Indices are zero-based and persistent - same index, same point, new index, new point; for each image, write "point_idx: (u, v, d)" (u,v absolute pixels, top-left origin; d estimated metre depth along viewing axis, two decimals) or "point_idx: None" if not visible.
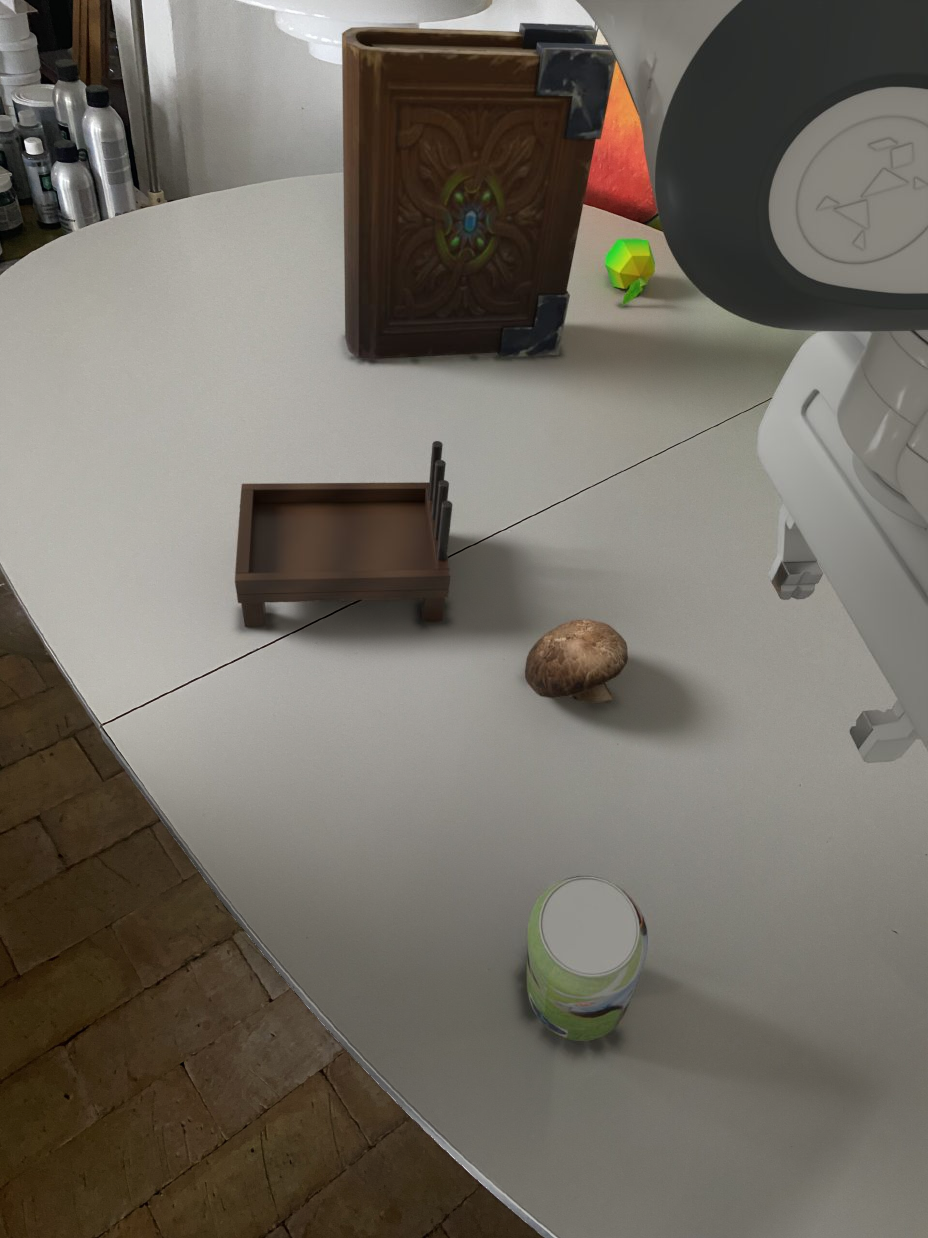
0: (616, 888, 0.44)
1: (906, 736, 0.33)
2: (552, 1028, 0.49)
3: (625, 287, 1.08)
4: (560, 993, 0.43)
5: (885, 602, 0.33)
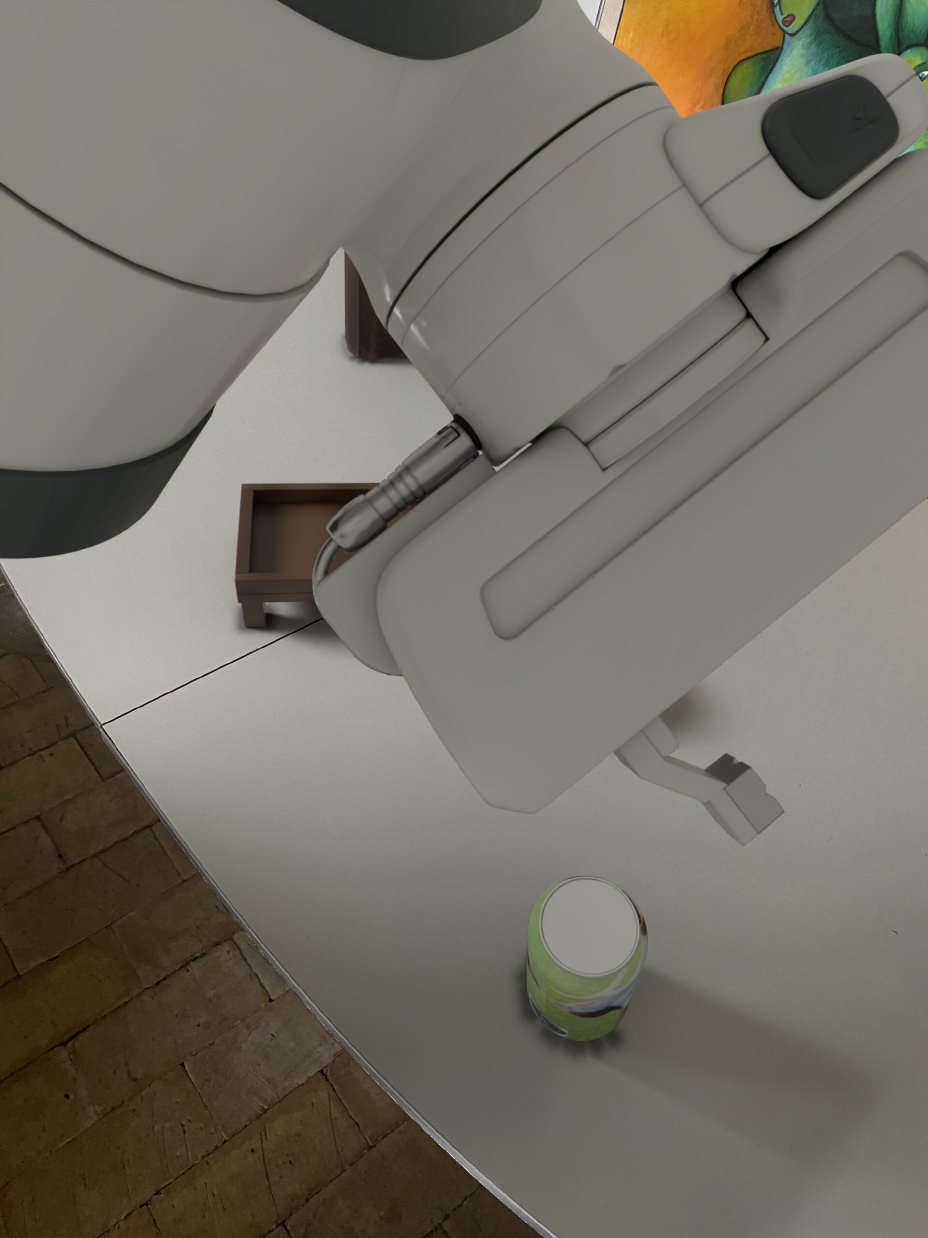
0: (616, 888, 0.44)
1: None
2: (552, 1028, 0.49)
3: None
4: (560, 993, 0.43)
5: (853, 446, 0.22)
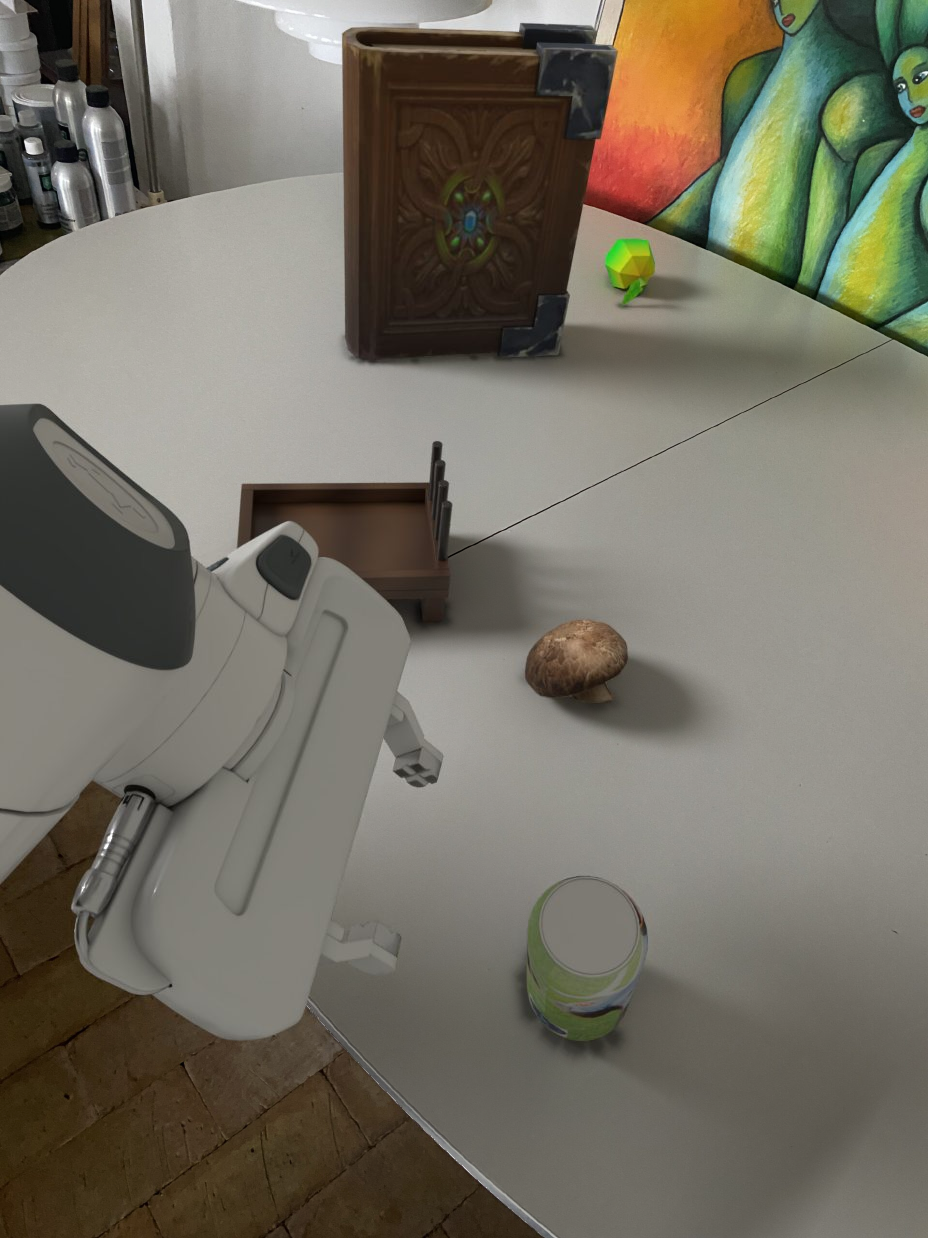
0: (616, 888, 0.44)
1: (408, 702, 0.43)
2: (552, 1028, 0.49)
3: (625, 287, 1.08)
4: (560, 993, 0.43)
5: (348, 717, 0.38)
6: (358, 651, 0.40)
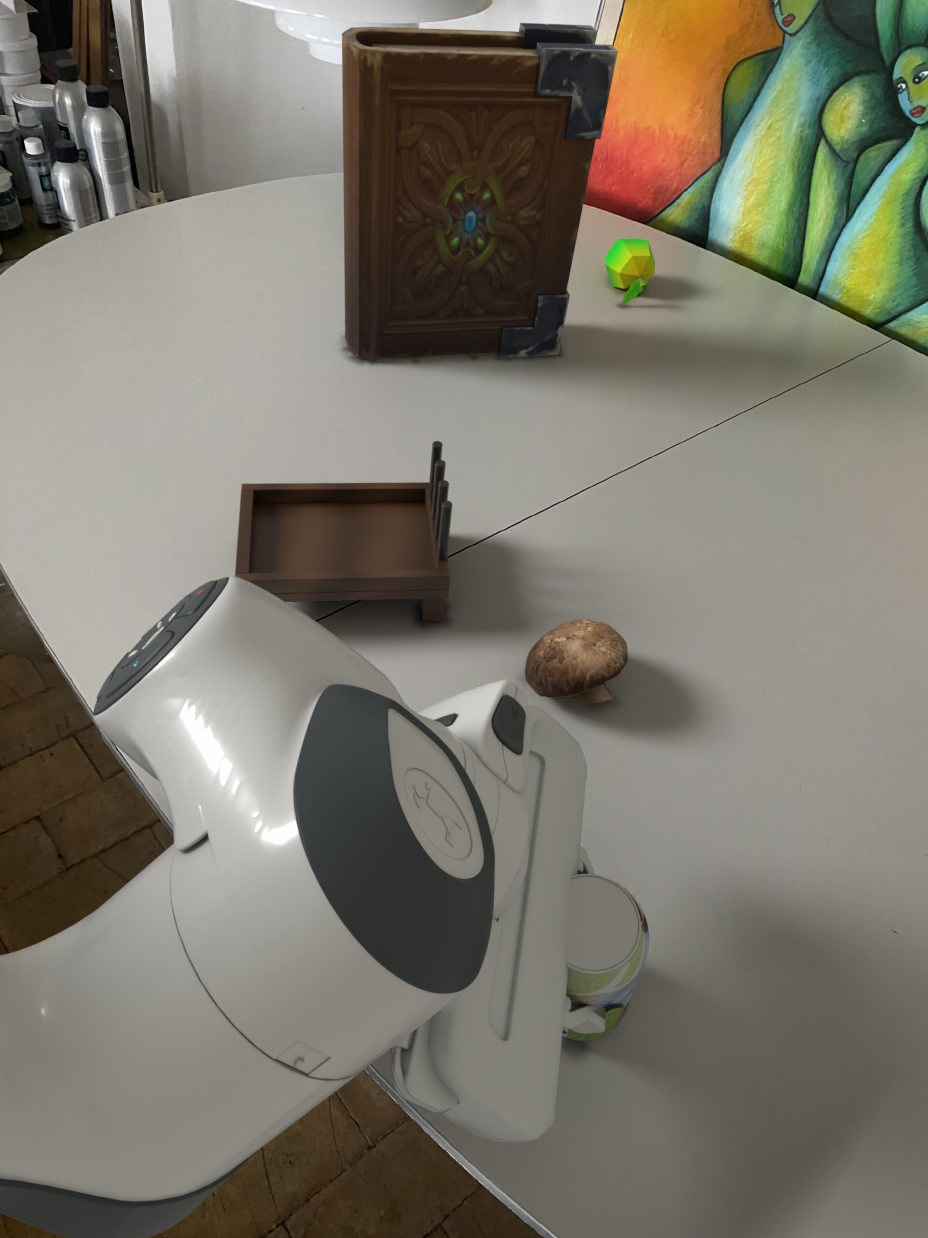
0: (617, 885, 0.44)
1: (585, 851, 0.48)
2: None
3: (625, 287, 1.08)
4: None
5: (555, 848, 0.44)
6: (555, 784, 0.46)
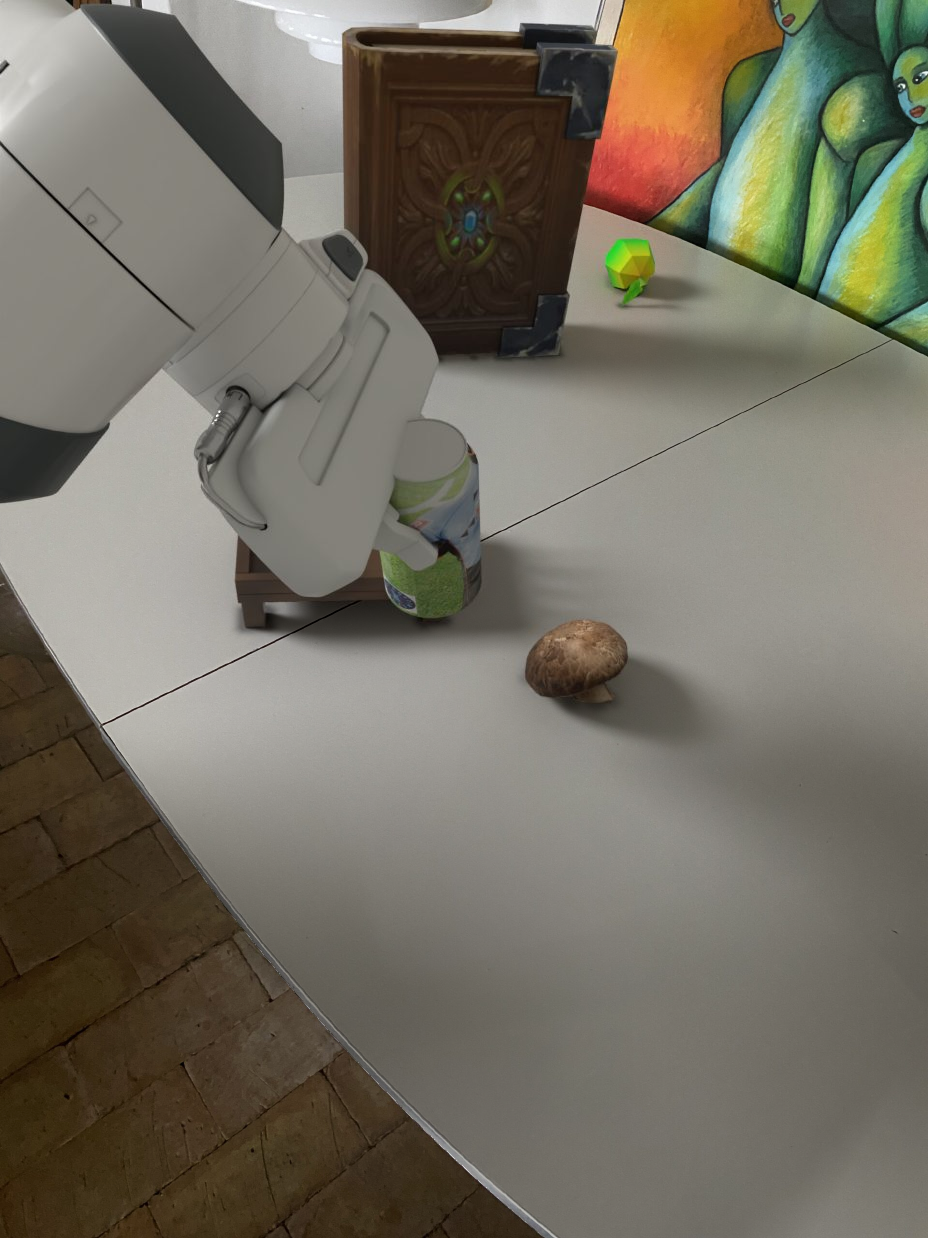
0: (450, 425, 0.47)
1: None
2: (403, 603, 0.52)
3: (625, 287, 1.08)
4: None
5: (392, 391, 0.47)
6: (398, 349, 0.49)
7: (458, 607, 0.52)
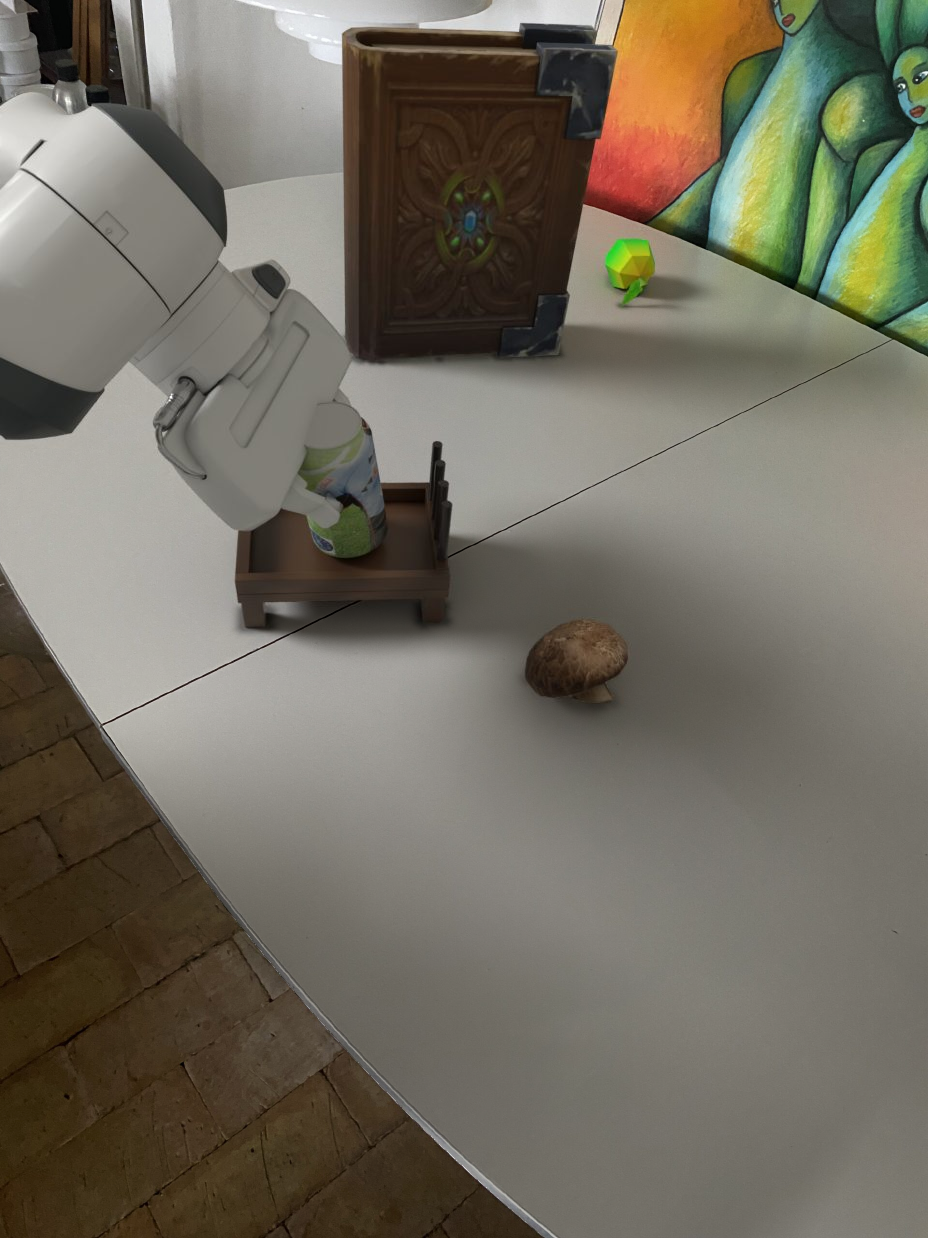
0: (350, 406, 0.62)
1: (347, 398, 0.67)
2: (324, 546, 0.67)
3: (625, 287, 1.08)
4: (307, 474, 0.61)
5: (309, 381, 0.62)
6: (316, 349, 0.64)
7: (367, 549, 0.67)
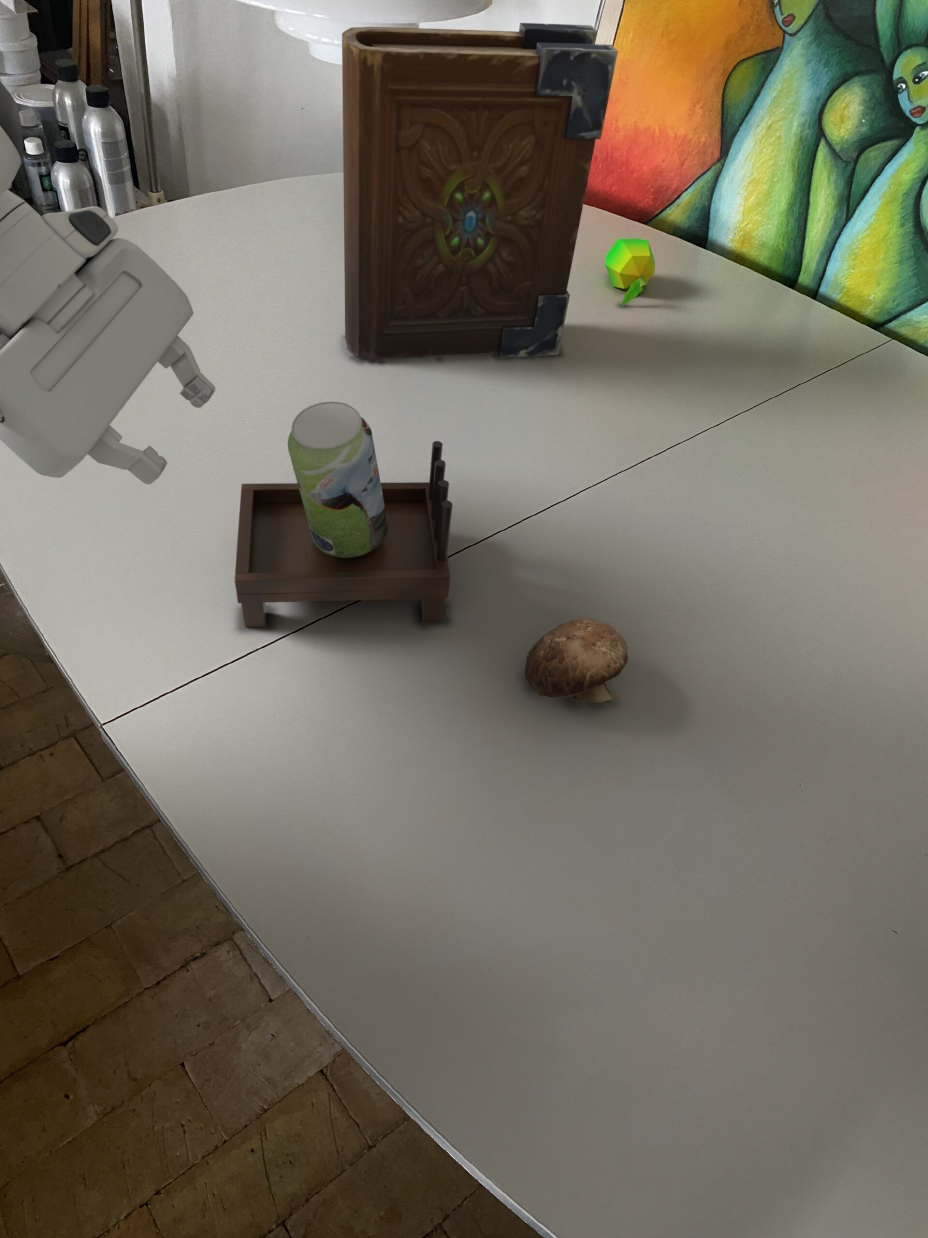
0: (350, 406, 0.62)
1: (188, 346, 0.66)
2: (324, 546, 0.67)
3: (625, 287, 1.08)
4: (307, 474, 0.61)
5: (136, 330, 0.62)
6: (148, 300, 0.64)
7: (367, 549, 0.67)
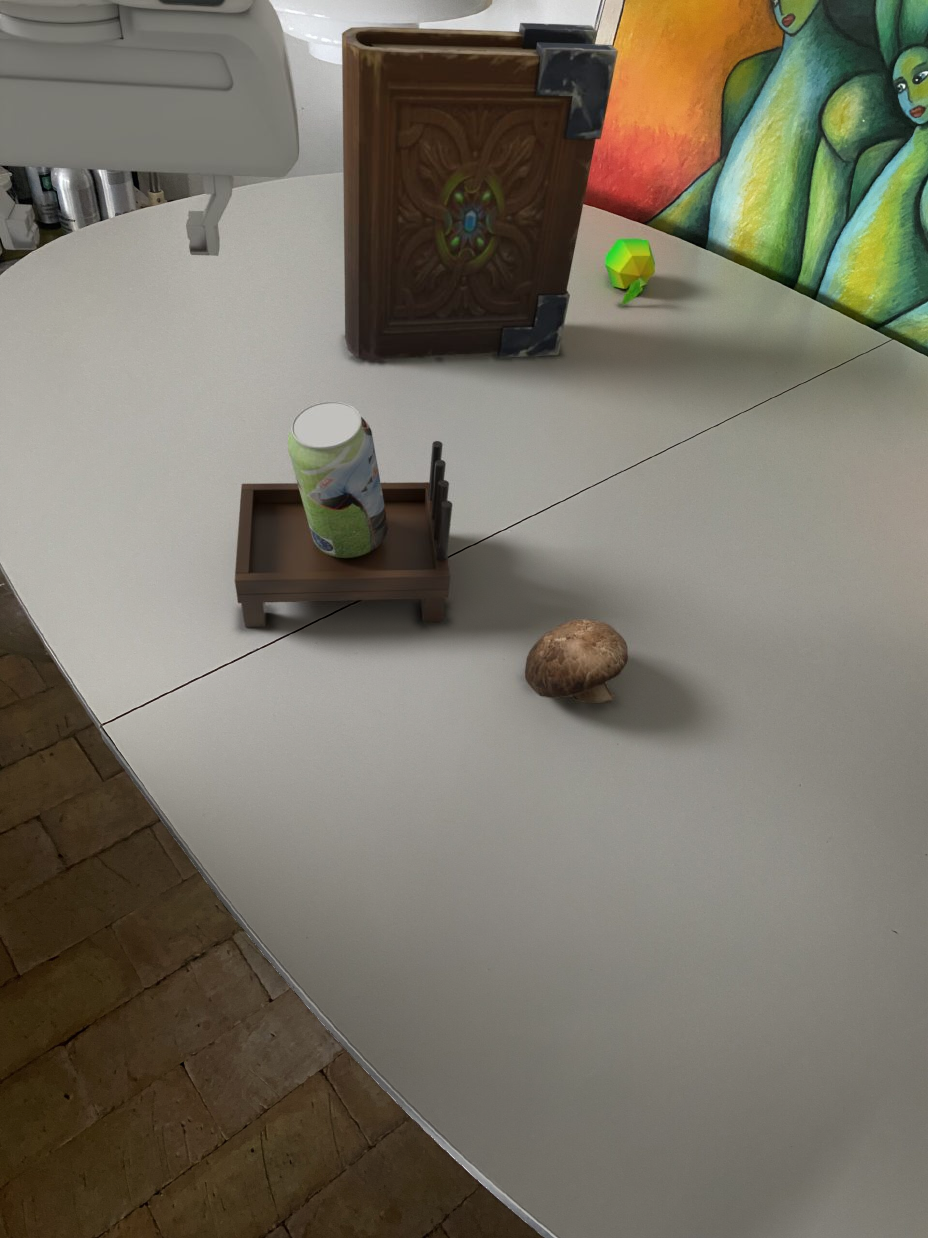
0: (350, 406, 0.62)
1: (230, 195, 0.45)
2: (324, 546, 0.67)
3: (625, 287, 1.08)
4: (307, 474, 0.61)
5: (141, 122, 0.41)
6: (214, 112, 0.41)
7: (367, 549, 0.67)
